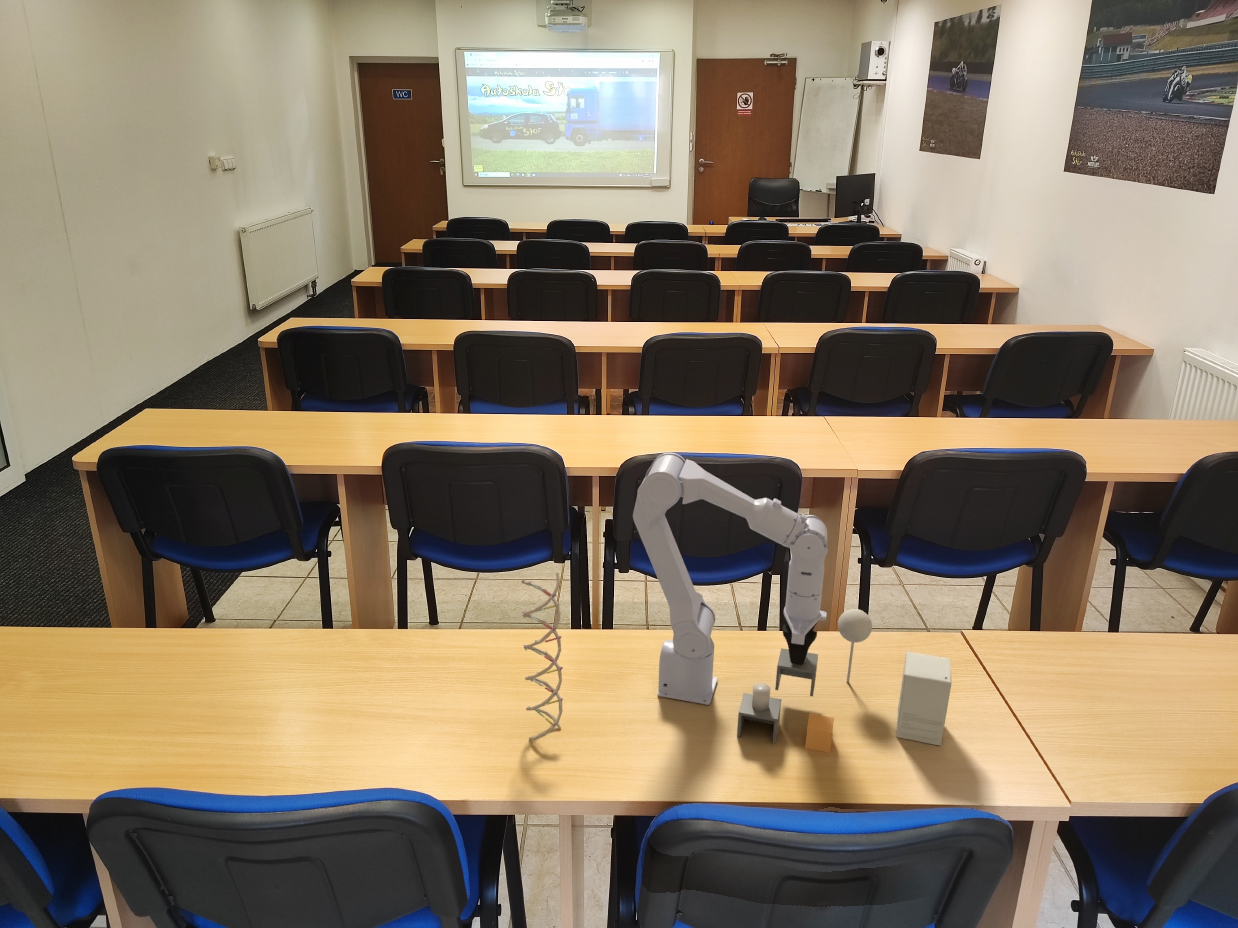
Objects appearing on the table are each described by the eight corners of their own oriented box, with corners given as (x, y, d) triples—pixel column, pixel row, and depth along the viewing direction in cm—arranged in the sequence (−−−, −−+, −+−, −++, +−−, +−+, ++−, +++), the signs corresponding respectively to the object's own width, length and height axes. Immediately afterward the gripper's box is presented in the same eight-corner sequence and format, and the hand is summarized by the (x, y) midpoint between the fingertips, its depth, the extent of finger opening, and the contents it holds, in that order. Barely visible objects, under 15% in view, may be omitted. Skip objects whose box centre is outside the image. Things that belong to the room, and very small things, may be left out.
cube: (805, 747, 145) (807, 728, 143) (807, 732, 148) (809, 713, 147) (830, 752, 144) (832, 732, 142) (831, 737, 147) (834, 717, 146)
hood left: (736, 736, 147) (739, 694, 144) (741, 716, 152) (744, 675, 149) (775, 744, 145) (779, 701, 142) (779, 723, 150) (783, 681, 147)
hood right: (775, 689, 152) (778, 647, 149) (779, 672, 157) (782, 630, 154) (812, 696, 151) (817, 653, 148) (815, 678, 155) (820, 636, 152)
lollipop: (865, 694, 158) (875, 622, 152) (831, 690, 159) (840, 618, 153) (863, 674, 164) (872, 604, 158) (831, 670, 165) (839, 600, 159)
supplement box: (941, 720, 152) (952, 657, 147) (941, 747, 145) (952, 683, 140) (896, 710, 154) (906, 649, 149) (894, 737, 147) (904, 673, 142)
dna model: (534, 751, 143) (528, 590, 132) (519, 728, 149) (513, 571, 137) (571, 739, 146) (569, 580, 135) (556, 717, 151) (552, 562, 140)
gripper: (826, 614, 139) (818, 685, 144) (831, 571, 152) (824, 638, 157) (781, 607, 141) (775, 678, 146) (790, 565, 154) (784, 632, 159)
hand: (797, 657), depth 152 cm, fingers closed on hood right, 3 cm apart
